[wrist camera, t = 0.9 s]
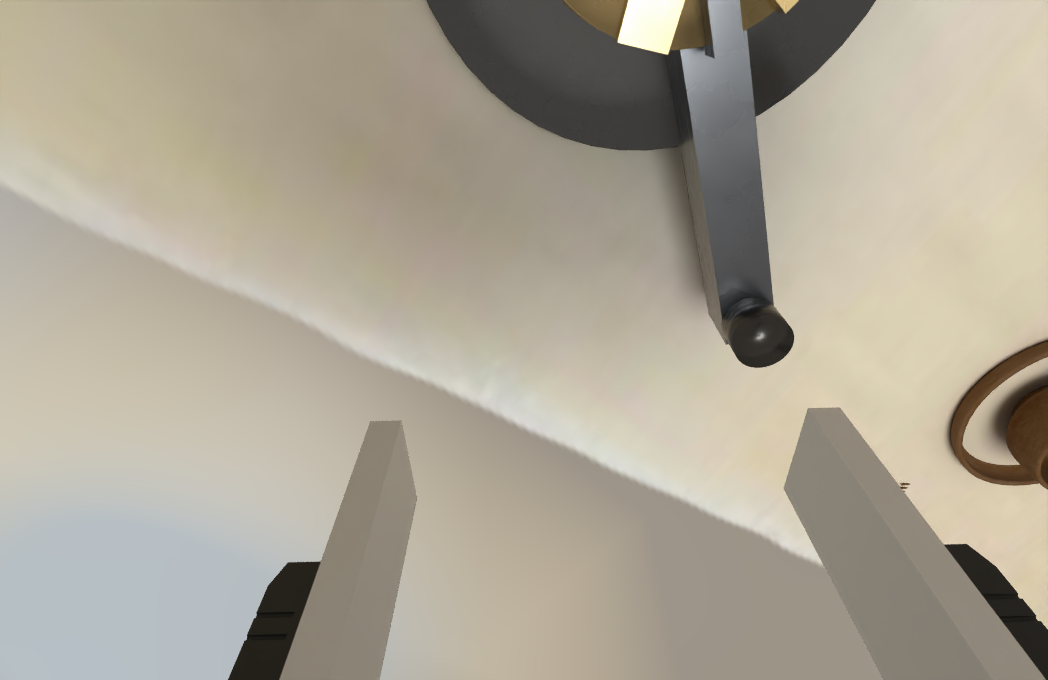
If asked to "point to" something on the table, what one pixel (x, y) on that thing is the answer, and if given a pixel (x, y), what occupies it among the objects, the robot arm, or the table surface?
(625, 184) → the table surface
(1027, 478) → the place setting
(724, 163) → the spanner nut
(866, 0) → the base
